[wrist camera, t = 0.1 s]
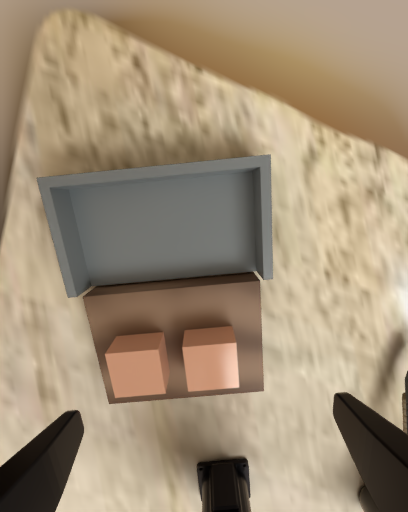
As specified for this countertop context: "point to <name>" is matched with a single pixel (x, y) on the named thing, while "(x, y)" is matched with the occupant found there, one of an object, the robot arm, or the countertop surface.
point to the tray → (161, 222)
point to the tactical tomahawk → (405, 406)
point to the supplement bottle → (367, 501)
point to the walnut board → (181, 324)
